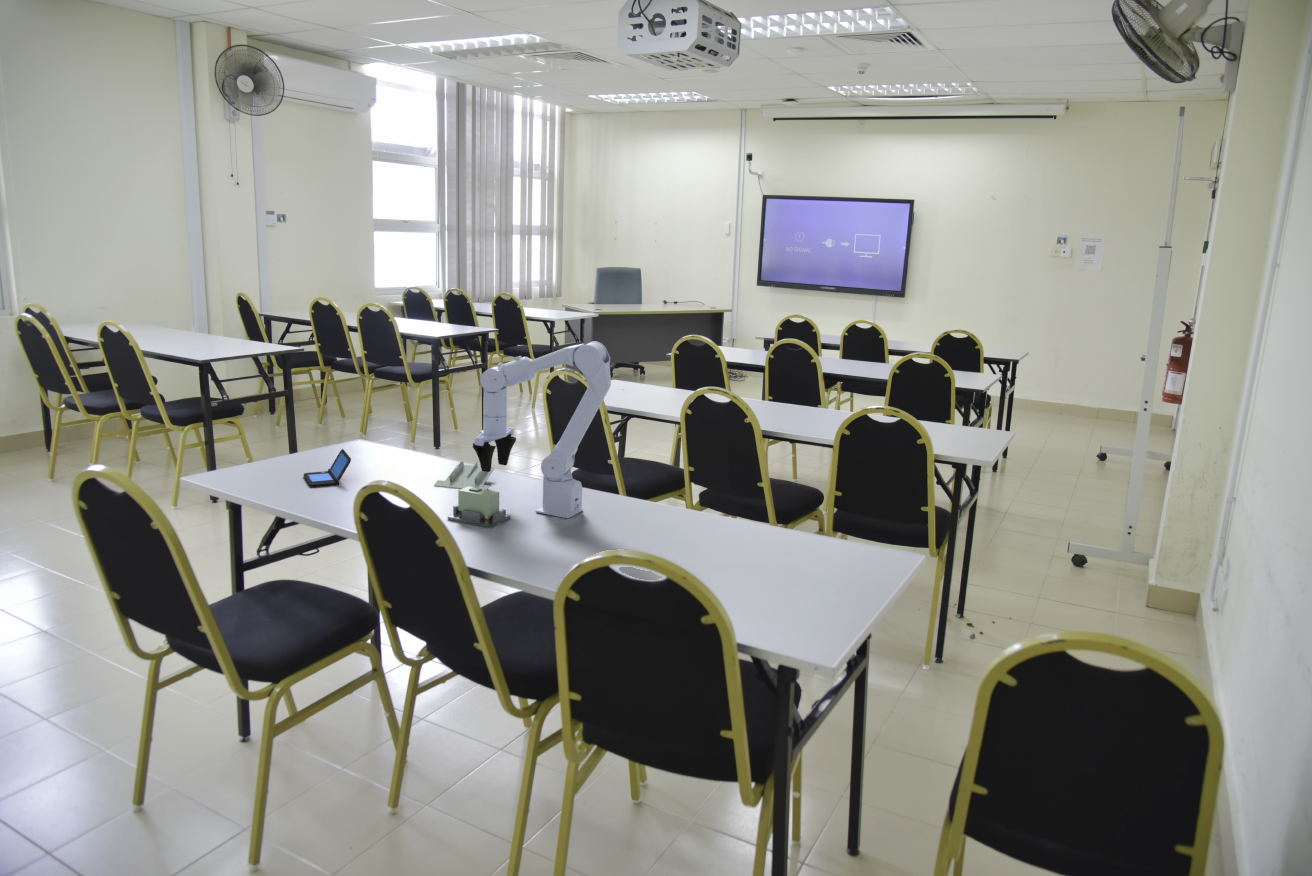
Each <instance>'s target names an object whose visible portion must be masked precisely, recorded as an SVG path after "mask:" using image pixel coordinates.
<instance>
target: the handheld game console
mask: <svg viewBox="0 0 1312 876" xmlns="http://www.w3.org/2000/svg"><path fill="white" fill-rule="evenodd" d="M351 462H352V458H351V456H350V455H349V454H348V453H347V452H346V451H345V450H344V449H343V448H341V449H340V451H339V453H338V455H337V456H336V458H335V459H334V460H333V463H332V464H331V466H330V467H329V468H328V469H327V470H324V471H314V472H313V471H312V472H305V473H303V478H304V480H305V481H306V483H307V484H308V487H309V488H324V487H325V488H326V487H327V488H328V487H334V486H337V487H338V486H340V480H341V479H342V477H343V475H344V474H345V472H346V470H347V469H348V468H349V466H350V464H351Z"/></svg>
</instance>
